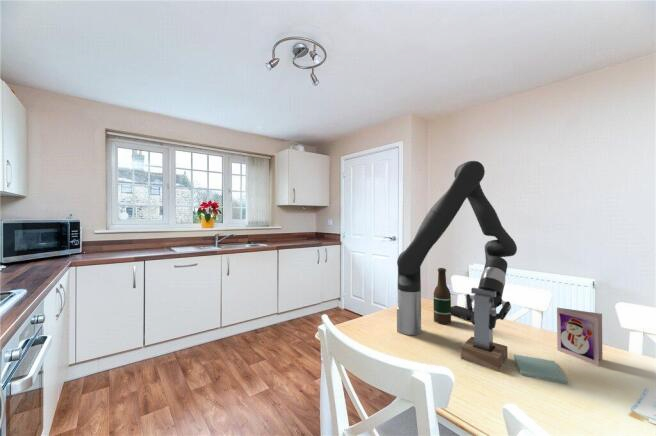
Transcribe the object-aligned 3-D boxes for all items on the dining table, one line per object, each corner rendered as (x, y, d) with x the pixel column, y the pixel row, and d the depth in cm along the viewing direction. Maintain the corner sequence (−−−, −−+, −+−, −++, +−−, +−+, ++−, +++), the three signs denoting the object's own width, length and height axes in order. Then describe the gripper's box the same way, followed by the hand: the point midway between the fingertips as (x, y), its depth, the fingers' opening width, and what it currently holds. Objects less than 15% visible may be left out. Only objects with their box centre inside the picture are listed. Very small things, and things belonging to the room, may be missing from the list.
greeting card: (555, 350, 96) (555, 307, 96) (569, 346, 99) (568, 305, 99) (596, 366, 86) (596, 318, 86) (610, 362, 88) (610, 315, 88)
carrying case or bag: (441, 313, 135) (470, 323, 122) (441, 307, 135) (470, 316, 122) (455, 310, 140) (484, 319, 128) (455, 304, 140) (484, 312, 128)
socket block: (471, 347, 99) (471, 336, 99) (507, 358, 91) (507, 346, 91) (460, 358, 91) (460, 346, 91) (498, 371, 83) (498, 358, 83)
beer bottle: (454, 324, 120) (454, 270, 120) (437, 324, 120) (436, 270, 120) (447, 318, 128) (446, 266, 128) (430, 318, 128) (430, 266, 128)
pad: (521, 374, 81) (521, 372, 81) (513, 356, 92) (513, 354, 92) (568, 384, 77) (568, 381, 77) (554, 363, 88) (554, 360, 88)
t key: (474, 348, 95) (474, 286, 95) (497, 355, 90) (497, 290, 90) (469, 353, 92) (470, 289, 92) (493, 360, 87) (493, 293, 87)
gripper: (468, 273, 102) (456, 314, 93) (513, 280, 92) (505, 326, 83) (472, 285, 105) (461, 325, 97) (517, 292, 95) (509, 338, 87)
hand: (481, 325), depth 90 cm, fingers closed on t key, 4 cm apart
